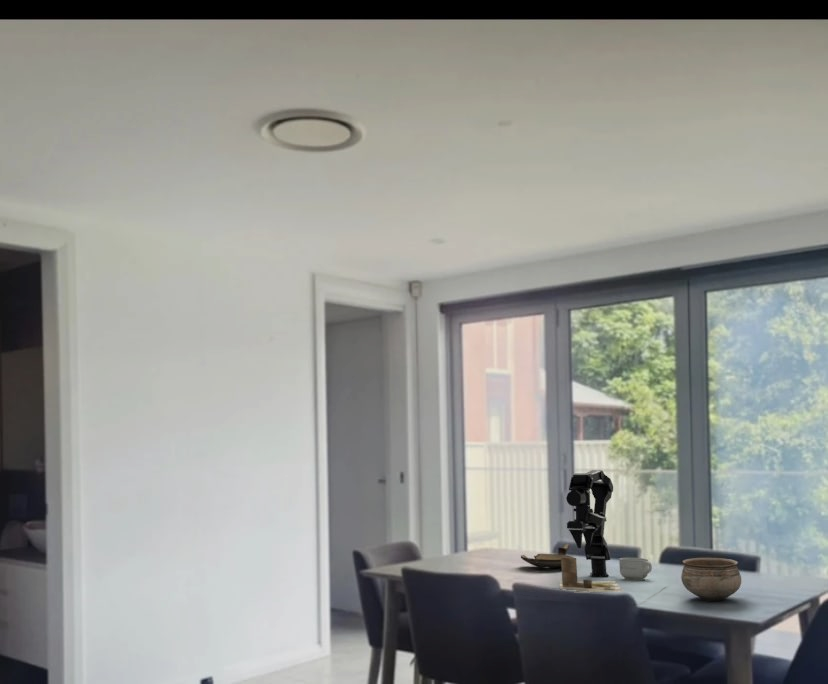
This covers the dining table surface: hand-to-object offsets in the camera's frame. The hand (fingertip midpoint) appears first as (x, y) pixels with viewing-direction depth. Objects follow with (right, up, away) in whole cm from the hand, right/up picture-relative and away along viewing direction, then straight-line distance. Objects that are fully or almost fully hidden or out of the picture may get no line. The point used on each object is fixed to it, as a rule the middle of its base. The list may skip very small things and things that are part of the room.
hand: (584, 547), depth 309 cm
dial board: (-1, -11, -16) cm, 19 cm away
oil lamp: (-5, -18, +37) cm, 41 cm away
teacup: (+20, -12, -1) cm, 24 cm away
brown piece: (-2, -10, -17) cm, 20 cm away
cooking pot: (+34, -7, -40) cm, 53 cm away
